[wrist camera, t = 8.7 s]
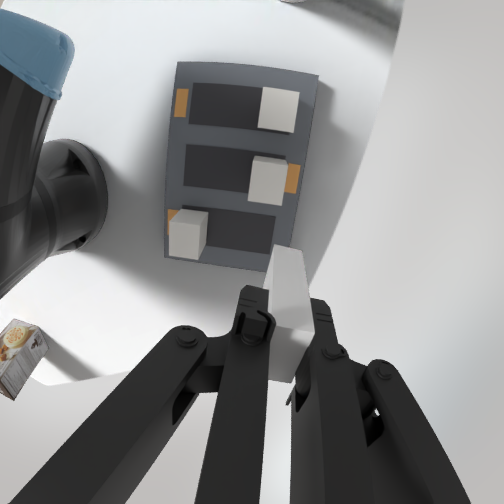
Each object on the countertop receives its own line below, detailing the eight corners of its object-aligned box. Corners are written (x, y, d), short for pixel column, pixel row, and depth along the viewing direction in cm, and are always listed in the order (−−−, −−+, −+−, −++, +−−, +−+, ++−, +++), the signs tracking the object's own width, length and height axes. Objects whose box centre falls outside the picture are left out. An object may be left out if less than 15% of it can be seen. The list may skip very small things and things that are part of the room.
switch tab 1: (179, 239, 31) (168, 255, 28) (181, 208, 30) (169, 221, 26) (206, 243, 31) (198, 259, 28) (208, 212, 30) (200, 225, 26)
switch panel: (169, 250, 35) (164, 257, 33) (182, 65, 25) (177, 61, 23) (282, 266, 35) (283, 274, 33) (315, 78, 25) (318, 75, 23)
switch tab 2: (258, 126, 26) (257, 127, 22) (263, 91, 24) (263, 86, 21) (289, 131, 26) (293, 132, 22) (295, 96, 24) (299, 92, 21)
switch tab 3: (250, 190, 29) (247, 200, 25) (254, 155, 27) (253, 160, 23) (279, 194, 29) (281, 205, 25) (285, 159, 27) (288, 166, 23)
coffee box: (24, 339, 47) (-12, 386, 32) (13, 317, 44) (-27, 364, 30) (50, 348, 46) (14, 402, 32) (39, 325, 44) (-3, 379, 29)
